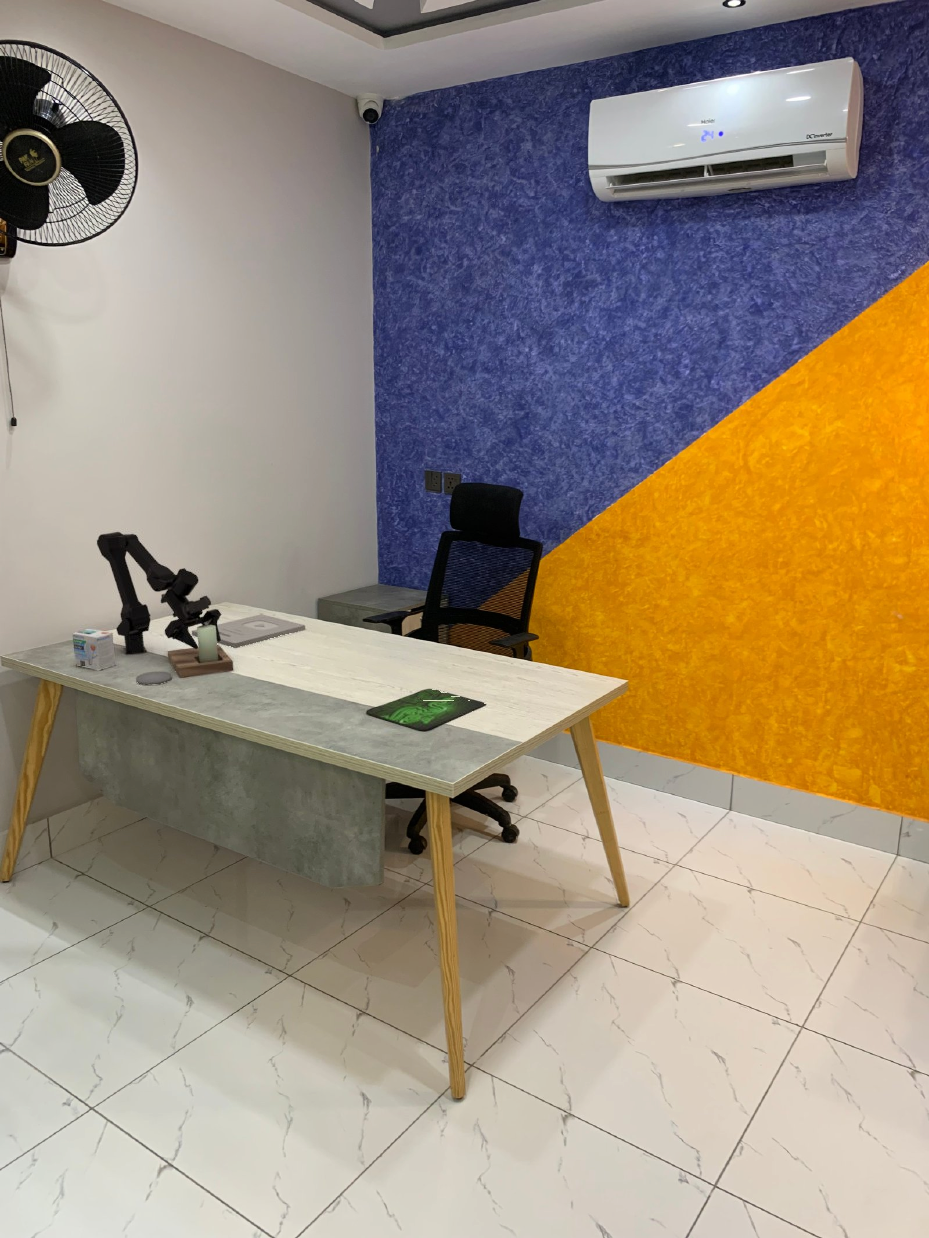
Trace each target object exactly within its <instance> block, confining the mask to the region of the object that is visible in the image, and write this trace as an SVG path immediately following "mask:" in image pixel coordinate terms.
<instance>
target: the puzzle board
mask: <svg viewBox="0 0 929 1238" xmlns="http://www.w3.org/2000/svg"><path fill="white" fill-rule="evenodd" d="M166 652H167V660H169V661H168V662H169V664H170V666H171V667H172V668H173V670H174V672H175V671H176V672H175V673H176V675H177V677H178V679H181V678H182V679H183V678H188V677H195V676H204V674H205V675H211V674H217V673H225V671H226V672H230V671H231V672H232V671H233V672H234V661H233V659H232V658H231V657H230V655H228V653H227V652H225V650H224V649H223V648H222V646H221V645H220V644H217V652H218V661H213V662H206V663H200V660H199V648H197V649H195V648H193V647H190V648H181V649H172V650H167V651H166Z"/></svg>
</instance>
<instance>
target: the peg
mask: <svg viewBox="0 0 929 1238" xmlns="http://www.w3.org/2000/svg"><path fill="white" fill-rule="evenodd" d="M196 630H197V635H198V637H197V643H198V644H197V645H198V648H199V660H200V663H206V662H213V661H218V652H217V645H218V643H217V638H216V626H214V625H202V624H201V625H199V626H197V627H196Z"/></svg>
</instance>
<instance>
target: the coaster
mask: <svg viewBox="0 0 929 1238" xmlns="http://www.w3.org/2000/svg"><path fill="white" fill-rule="evenodd" d="M172 677H173V676H172V673H170V672H168V671H149V672H144V673H141V674H139V675H137V676H136V678H135V681H136V683H137V682H138V683H139V684H138V683H137V684H138V685H140V684H145V685H144V686H149V685H148V684H159V685H162V684H161V683H163V684H165V683H164V682H166V683H168V682H167V681H169V682H170V681H171V680H172V679H173V678H172Z"/></svg>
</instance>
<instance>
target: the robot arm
mask: <svg viewBox="0 0 929 1238" xmlns="http://www.w3.org/2000/svg"><path fill="white" fill-rule="evenodd" d="M96 545H97V548H98V549H99V552H100V554H101V556H102V557H103V558H104V559H105V560H106V561H108V563H109V567H110V569H111V572H112V575H113V578H114V581H115V584H116V588H117V591H118V594H119V598H120V600H121V604H122V607H121V611H120V614H119V615H120V619H121V621H120V622H119V624H118V625H117V627H116V628H115V629H116V632H117V633H116V634H117V635H118V636H121V637H124V645H125V646H124V648H123V652H124V654H125V655H133V654H140V653H141V654H142V653H147V652H148V651H147V649H146V646H145V644H144V632H148V631H149V630H150V625H151V614H150V611H149V608H148V605H147V604H144V603H141V602H140V600H139V598H138V594H137V592H136V588H135V585H134V582H133V579H132V576H131V572H130V569H129V567H128V566H129V565H128V563H127V561H126V555H127V553H128V554H129V556H130V557H131V558H132V559H133V560H134V561H135V562H136V563H137V565H138V566H139V567H140V568H141V569H142V571H143V572H144V573H145V575H146V581H147V583H148V584H149V586H150V588H151V589H152V590H153V591H154V592H155V593H156V592H157V593H158V592H159V593H160V592H164V591H165V593H163V594H160V595H161V598H160V603H161V604H166V603H167V604H168V606H169V608H170V609H171V611H172V612H173V613H172V617H173V618H176V617H177V618H176V619H174V620H170V622H169V623H168V625H167V626H166V627H165V629H164V635H165V636H166V637H167V639H172V640H176V641H178V642H180V643H183V644H184V645H186V646H189V647H190V648H195V649H197V648H198V644H197V642H196V641H195V639H194V638H193V636H192V634H191V633H190V631H189V628H190V627H194V626H197V625H201V626H202V625H214V626H216V638H217V641H218V642H220V641H221V638H220V634H219V630H218V626H217V625H218V621H219V620H220V618H221V616H222V612H221V611H220V610H219V609H218V608H213V609H210V605H212V601H211V600H210V598H209V597H208V596H207V595H204V596H203V595H202V596H201V597H200V598H199V599H197V600H190V599H188V598H187V596H189V595H191V593H192V592H193V591H194V589H195V588H196V586H197V585H198V583H199V577H198V575H197V574H196V573H193V572H192V571H189V570H187V569H186V568H185V567H184V568H179V569H178V571H177V574H175V572H174V571H172V570H171V569H170V568H169V567H168V566H165V565H162V564H160V563H159V562H158V561H157V560H156V558H154V556H153V555H152V554H151V553H150V551H148V550H147V548H146V547H145V546H144V545H143V544H142V543H141V542H140V540H139V537H138V535H137V534H134V533H130V534H129V533H127V534H126V533H125V534H124V533H121V532H120V531H115V532H114V531H113V532H107V533H103V534H100V535H99V536H98V538H97V539H96ZM207 609H210V610H207ZM205 610H206V611H205ZM204 611H205V613H204ZM203 613H204V614H203ZM202 614H203V616H201V615H202Z"/></svg>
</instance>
